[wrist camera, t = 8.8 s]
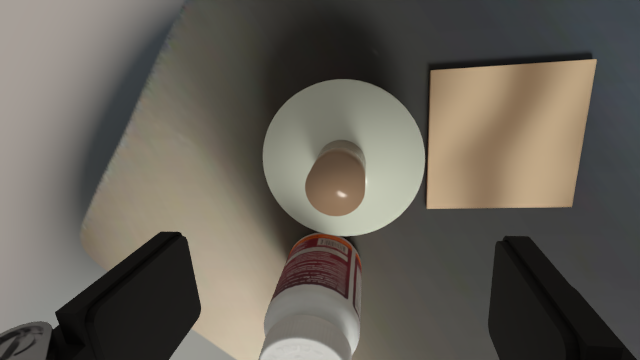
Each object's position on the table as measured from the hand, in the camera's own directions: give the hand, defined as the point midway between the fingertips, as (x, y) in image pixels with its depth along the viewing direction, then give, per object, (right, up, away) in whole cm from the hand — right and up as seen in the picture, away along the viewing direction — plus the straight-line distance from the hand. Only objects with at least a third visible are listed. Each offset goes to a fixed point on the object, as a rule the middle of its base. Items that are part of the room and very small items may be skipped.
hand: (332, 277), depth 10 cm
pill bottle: (0, -4, +19) cm, 20 cm away
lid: (+1, +4, +12) cm, 13 cm away
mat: (+12, +6, +14) cm, 20 cm away
